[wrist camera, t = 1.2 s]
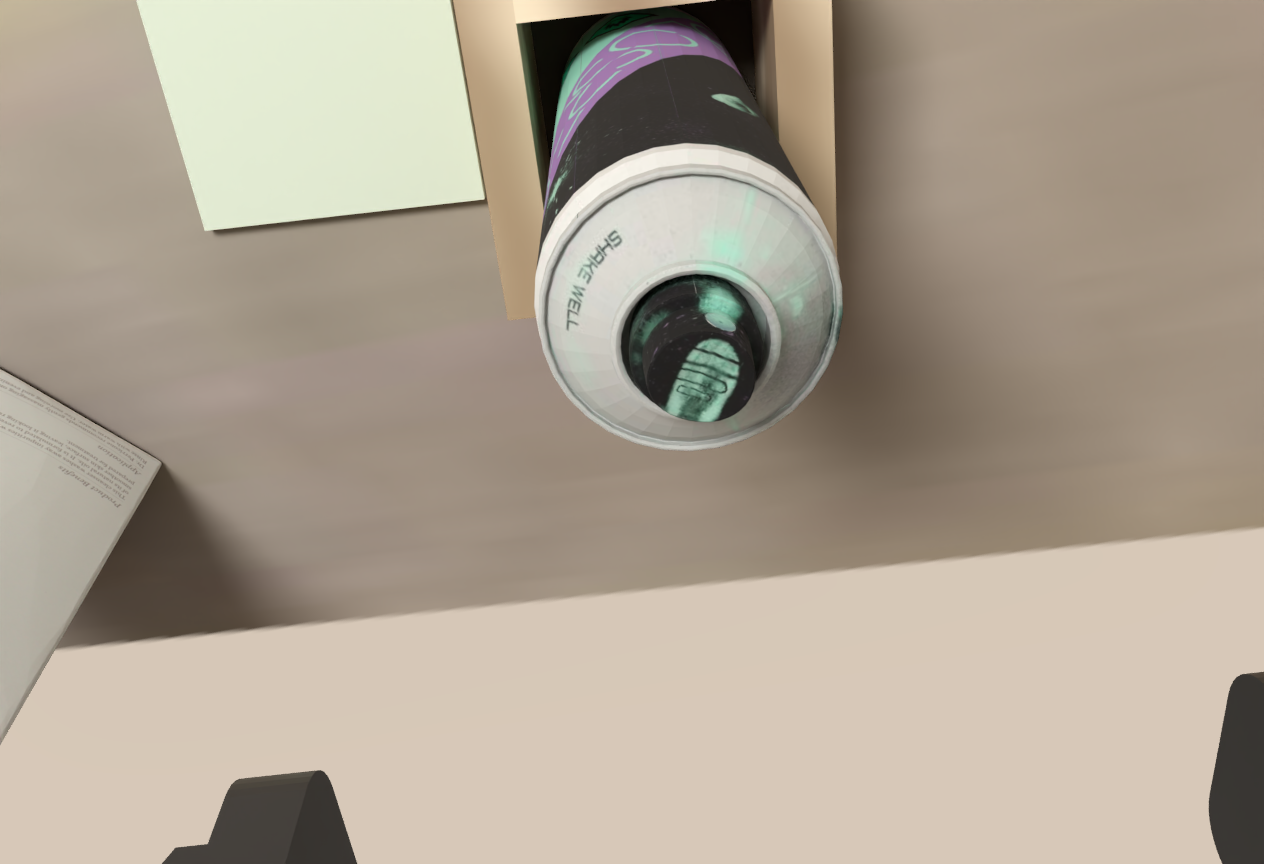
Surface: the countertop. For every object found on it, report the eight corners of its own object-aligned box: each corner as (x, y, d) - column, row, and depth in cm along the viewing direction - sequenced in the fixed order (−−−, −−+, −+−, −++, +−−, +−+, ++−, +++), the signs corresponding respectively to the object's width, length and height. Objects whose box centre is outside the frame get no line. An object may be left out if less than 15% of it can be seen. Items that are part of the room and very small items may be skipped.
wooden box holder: (798, -92, 33) (830, -78, 28) (809, 228, 37) (837, 284, 33) (467, -53, 33) (447, -32, 28) (518, 261, 37) (508, 320, 33)
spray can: (721, -16, 34) (861, 171, 16) (749, 164, 36) (895, 495, 19) (541, 24, 34) (483, 249, 16) (581, 199, 37) (568, 556, 19)
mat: (432, -114, 32) (430, -114, 32) (485, 195, 36) (484, 199, 36) (118, -77, 32) (113, -76, 32) (208, 227, 37) (205, 231, 36)
